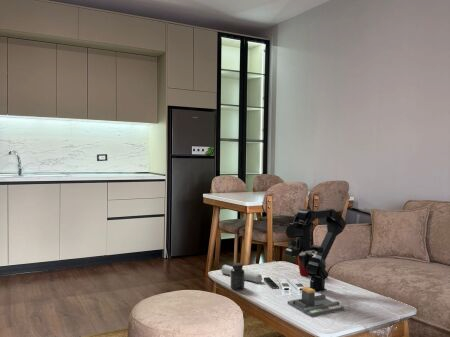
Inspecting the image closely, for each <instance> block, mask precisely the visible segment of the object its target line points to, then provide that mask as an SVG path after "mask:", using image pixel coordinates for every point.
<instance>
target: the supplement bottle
mask: <svg viewBox="0 0 450 337" xmlns="http://www.w3.org/2000/svg"><path fill="white" fill-rule="evenodd" d="M232 267H233V269H232V270H231V276H230V289H231V290H233V291H242V290H244V289H245V279H244V270H245V269H243V264H242V262H235V263H234V262H233V264H232Z"/></svg>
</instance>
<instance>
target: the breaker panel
mask: <svg viewBox="0 0 450 337" xmlns="http://www.w3.org/2000/svg"><path fill="white" fill-rule="evenodd" d="M340 303H341V302H340V301H339V300H336V301H335V300H334V301H332V300H330V299H328V298H326V294H319V295H315V305H314V306H309V307H307V305H305V304H303V303H302V298H297V299H292V300H288V301H287V305H289V306H290V307H292V308H293V309H296V310H298V311H299V312H301V313H303V314H305V315H306V316H309V317H310V318H311V317H317V316H321V315H325V314H330V313H331V314H332V313H336V312H341V311H345V306H343V305H341V304H340Z"/></svg>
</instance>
